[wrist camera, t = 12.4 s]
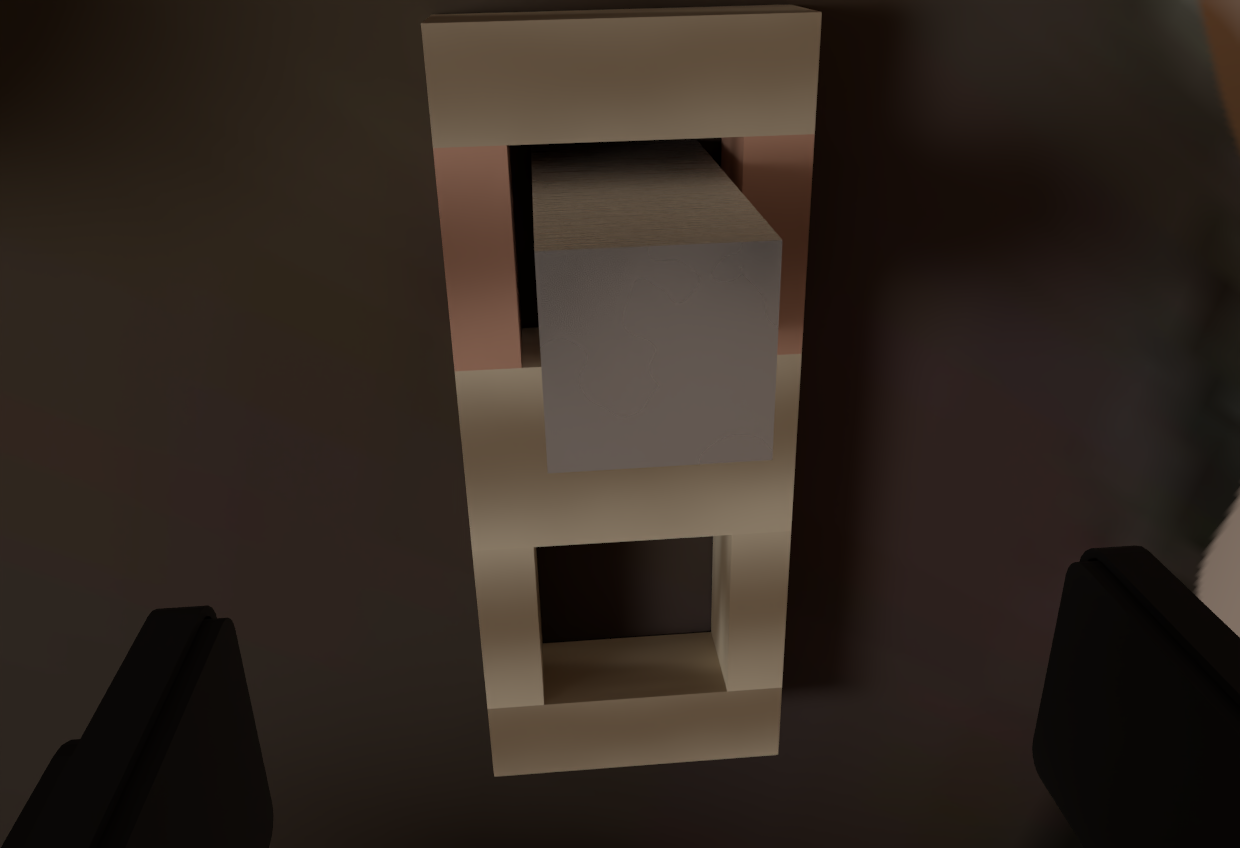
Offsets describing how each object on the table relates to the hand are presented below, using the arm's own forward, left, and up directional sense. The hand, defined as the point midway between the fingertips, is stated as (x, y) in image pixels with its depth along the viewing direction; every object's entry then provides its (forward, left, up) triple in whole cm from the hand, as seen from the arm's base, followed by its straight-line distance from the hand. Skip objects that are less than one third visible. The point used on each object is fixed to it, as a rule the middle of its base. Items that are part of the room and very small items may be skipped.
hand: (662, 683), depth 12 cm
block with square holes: (-5, -1, -18) cm, 19 cm away
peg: (0, -1, -19) cm, 19 cm away
